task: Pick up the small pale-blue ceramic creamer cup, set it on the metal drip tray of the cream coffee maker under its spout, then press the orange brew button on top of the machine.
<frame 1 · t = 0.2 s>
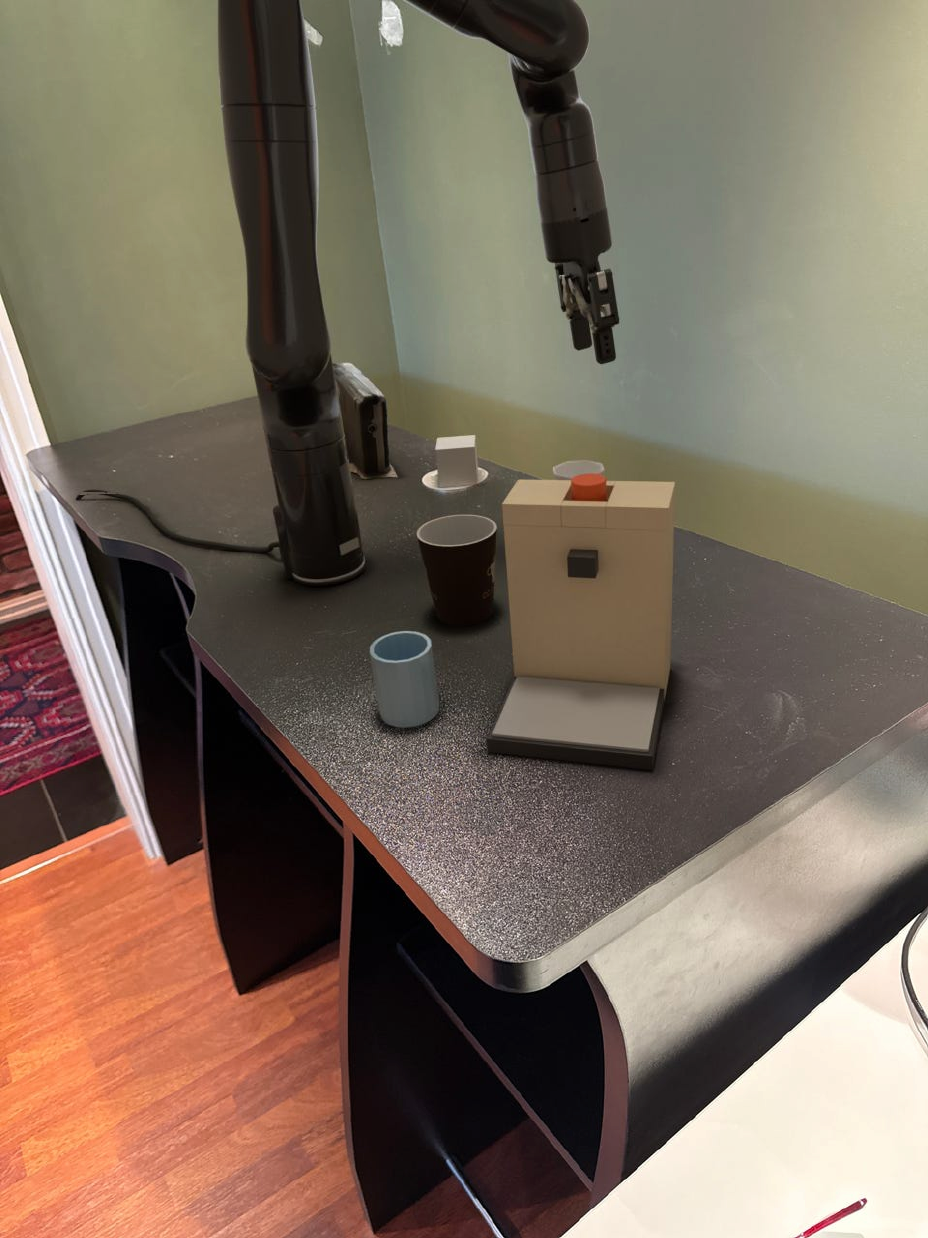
hand: (594, 355, 106), 22 cm above the table, tool pointing down, fingers open, 8 cm apart
cup: (570, 529, 118), on the table
brew button: (588, 491, 76), point 19 cm above the table, slide at 0.0 cm
coffee maker: (584, 707, 81), on the table
radio: (367, 459, 152), on the table
coffee mug: (471, 607, 101), on the table
white cube: (459, 480, 139), on the table
creamer cup: (409, 710, 83), on the table
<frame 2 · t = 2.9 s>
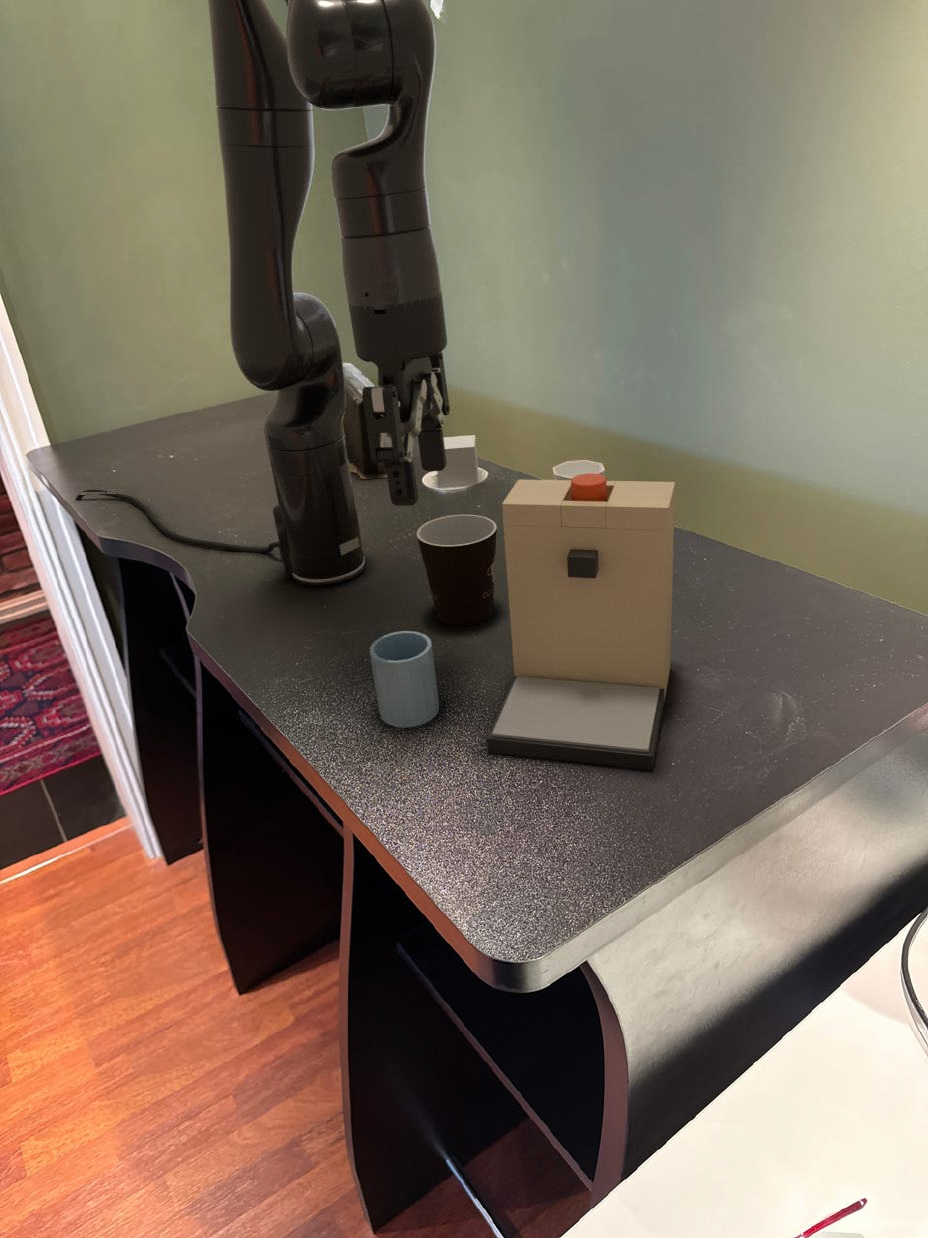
hand: (420, 486, 78), 20 cm above the table, tool pointing down, fingers open, 8 cm apart
nothing on the table moved.
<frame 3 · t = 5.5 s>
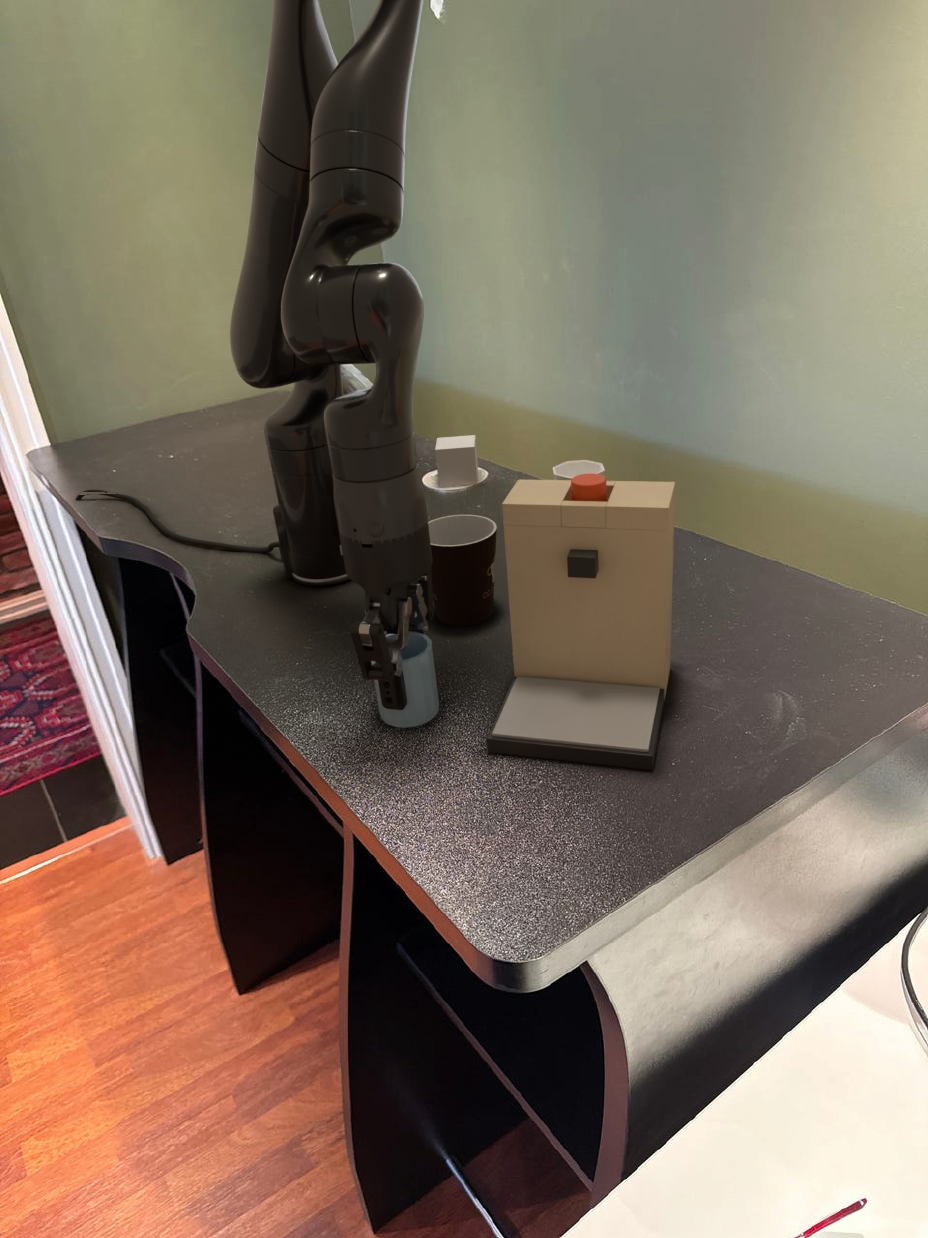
hand: (406, 687, 82), 3 cm above the table, tool pointing down, fingers closed on creamer cup, 5 cm apart
creamer cup: (409, 710, 83), on the table, touching gripper
everything else where it was.
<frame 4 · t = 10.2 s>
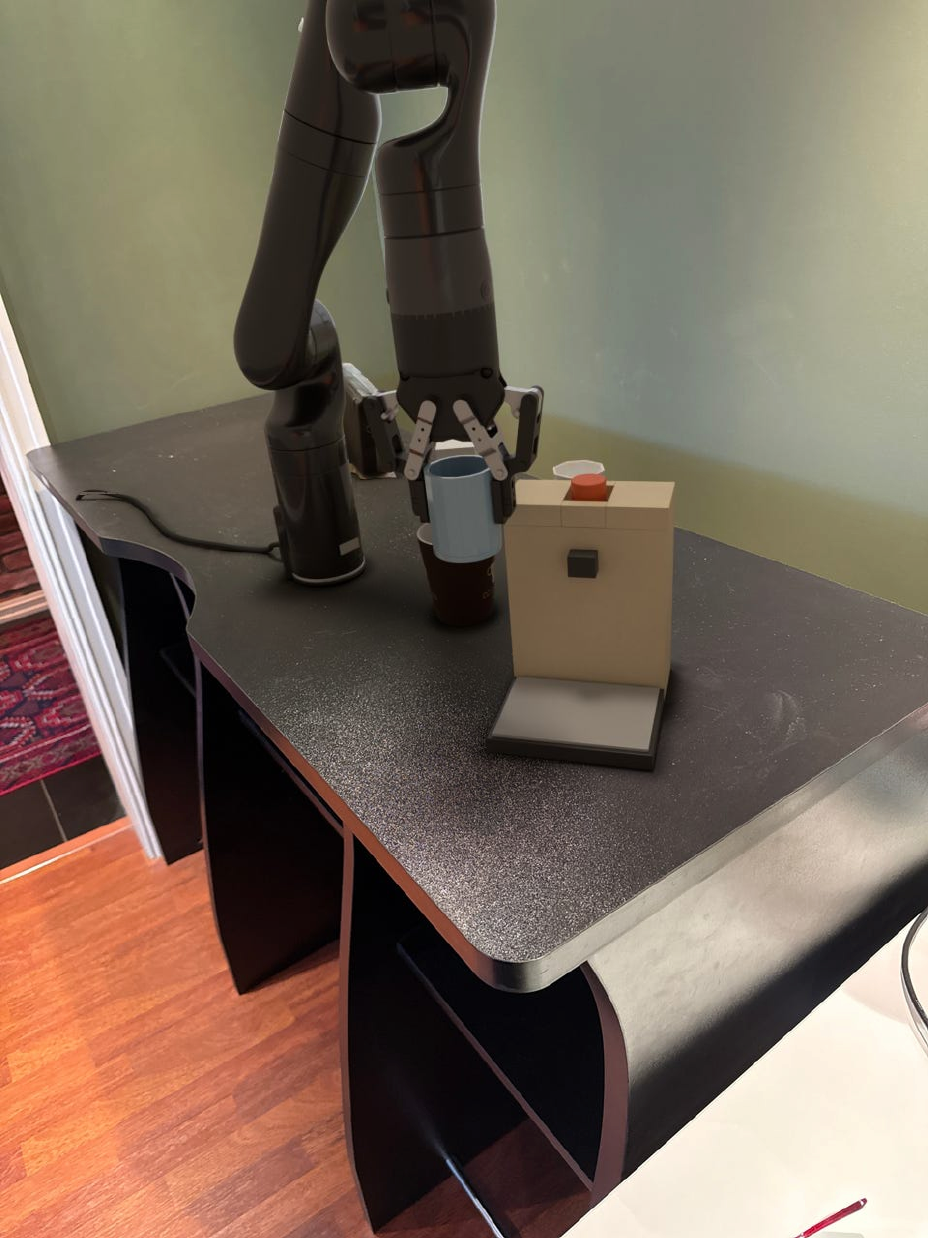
hand: (464, 519, 71), 20 cm above the table, tool pointing down, fingers closed on creamer cup, 5 cm apart
creamer cup: (468, 548, 72), point 17 cm above the table, touching gripper
everything else where it was.
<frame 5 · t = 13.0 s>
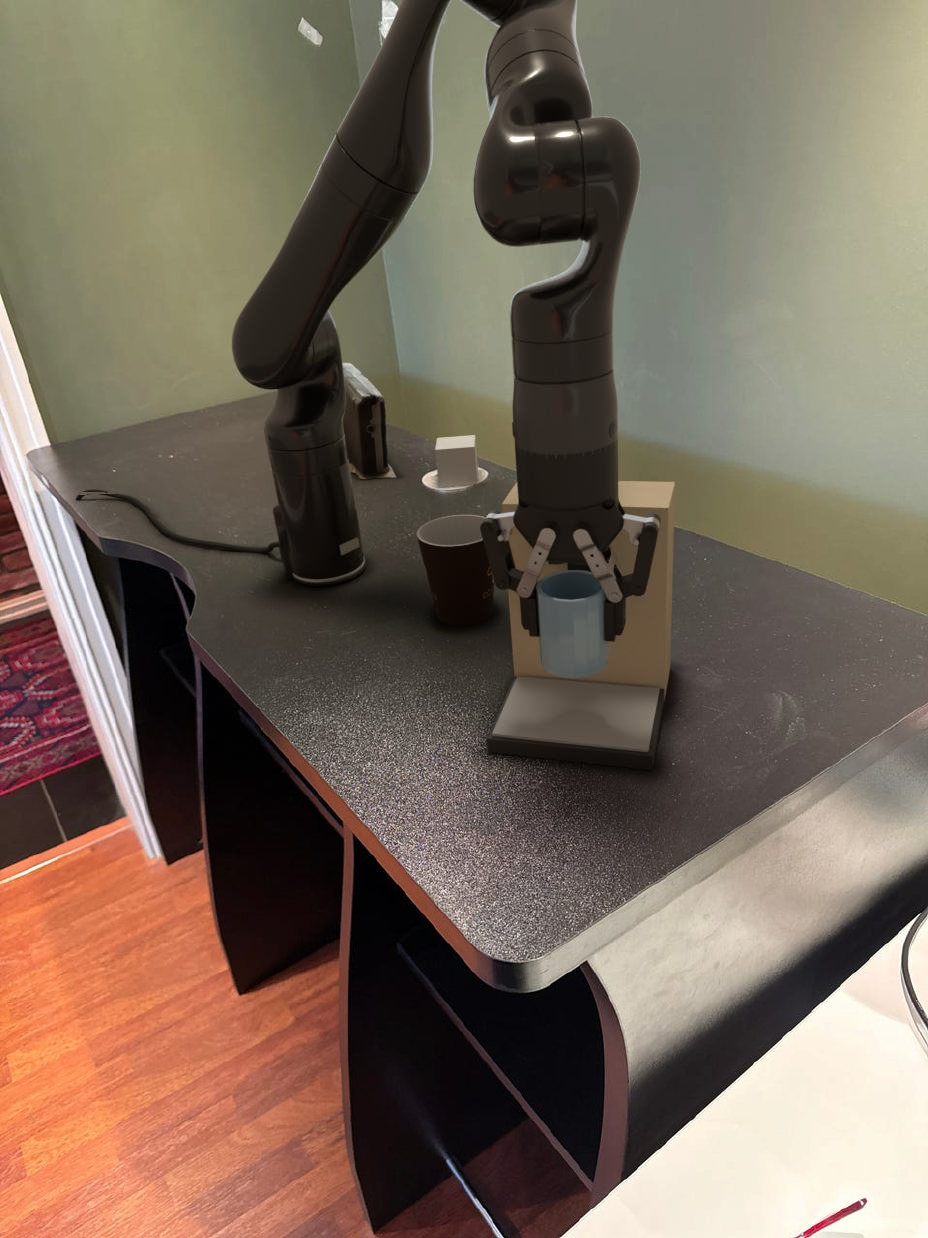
hand: (573, 633, 72), 10 cm above the table, tool pointing down, fingers closed on creamer cup, 5 cm apart
creamer cup: (574, 660, 74), point 8 cm above the table, touching gripper
everything else where it was.
when the fingers open (4 cm above the table, at t = 15.0 s): creamer cup stays where it is, resting on coffee maker.
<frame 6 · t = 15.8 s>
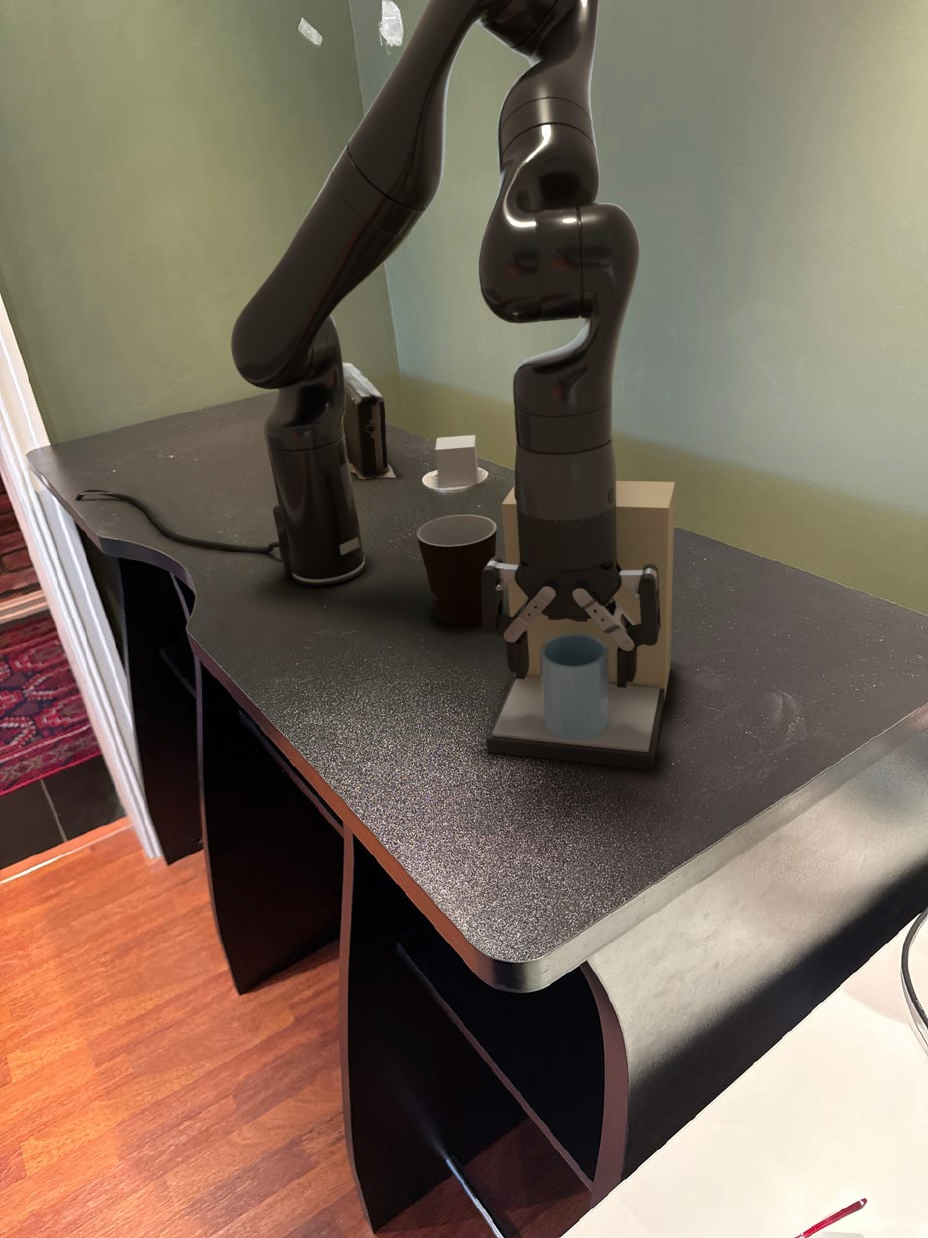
hand: (571, 678, 74), 6 cm above the table, tool pointing down, fingers open, 8 cm apart
creamer cup: (576, 719, 76), point 2 cm above the table, touching coffee maker
everything else where it was.
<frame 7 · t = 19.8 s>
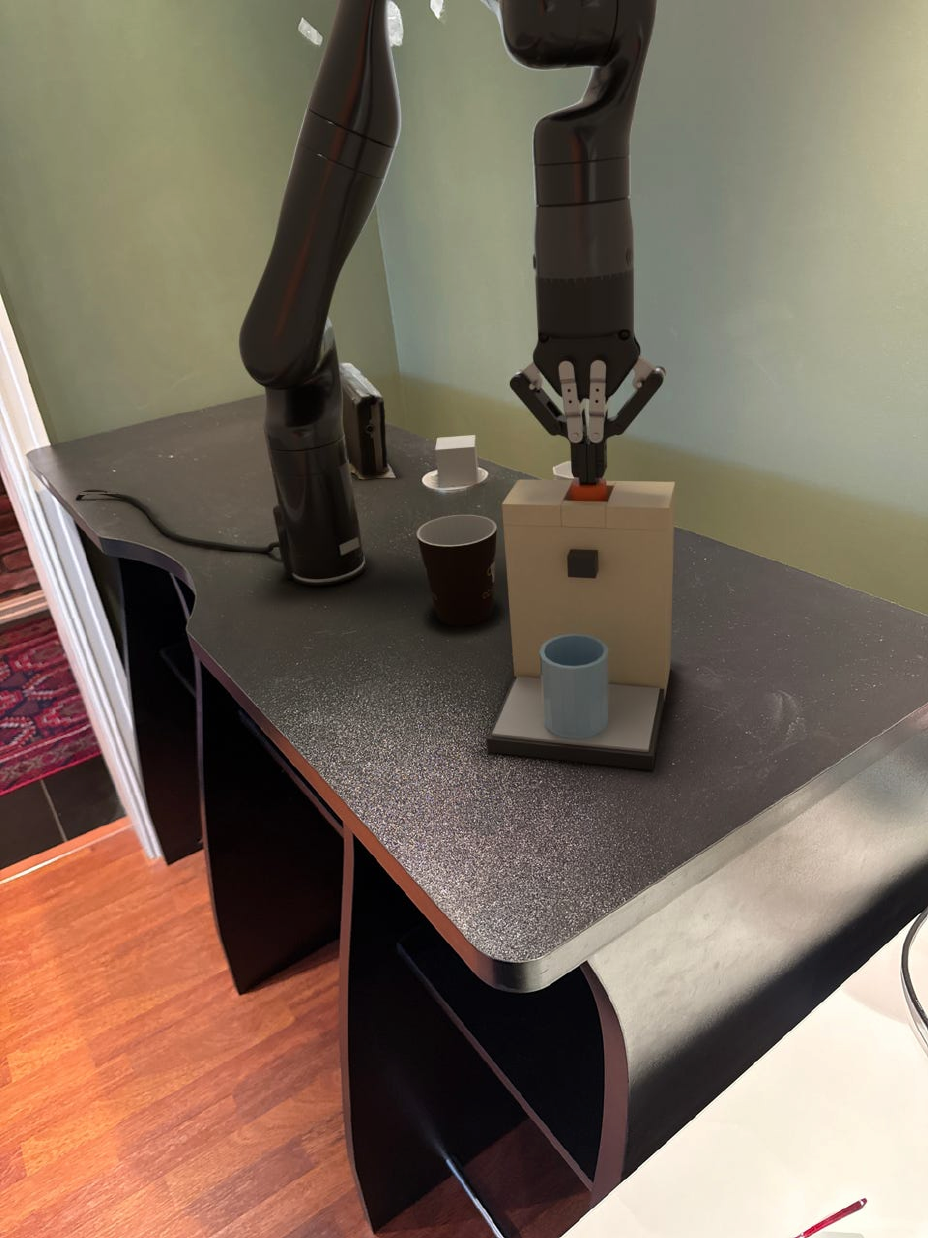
hand: (589, 481, 76), 20 cm above the table, tool pointing down, fingers closed
brew button: (588, 493, 76), point 19 cm above the table, slide at -0.2 cm, touching gripper
everything else where it was.
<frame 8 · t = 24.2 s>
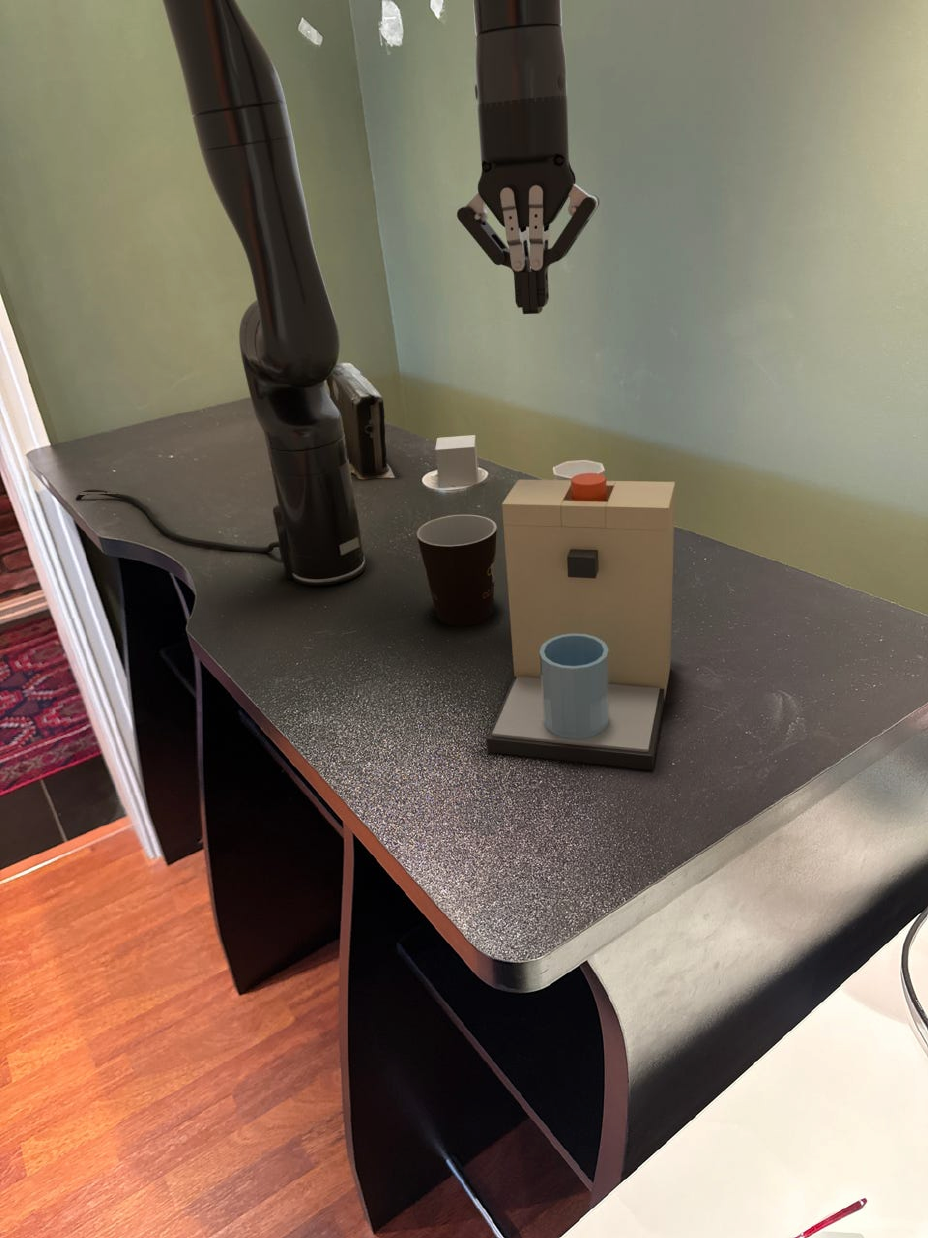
hand: (532, 312, 82), 32 cm above the table, tool pointing down, fingers closed
brew button: (588, 490, 76), point 19 cm above the table, slide at 0.1 cm
everything else where it was.
at the end: creamer cup inside the target area on the coffee maker (1.2 cm from its centre), point 1.8 cm above the coffee maker's base; creamer cup tilted 0°; brew button pushed in 0.9 cm at the most during the clip, back to where it started at the end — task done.
